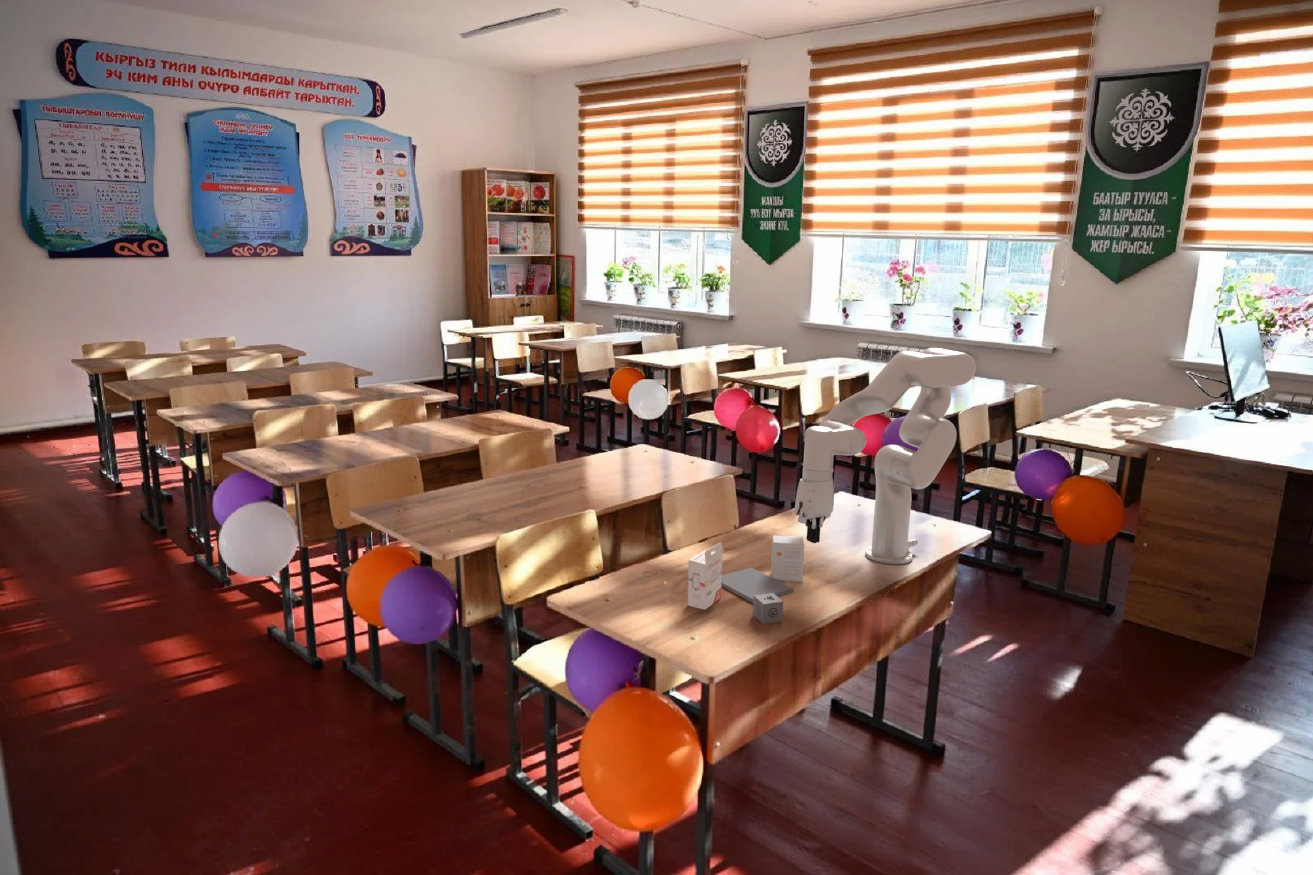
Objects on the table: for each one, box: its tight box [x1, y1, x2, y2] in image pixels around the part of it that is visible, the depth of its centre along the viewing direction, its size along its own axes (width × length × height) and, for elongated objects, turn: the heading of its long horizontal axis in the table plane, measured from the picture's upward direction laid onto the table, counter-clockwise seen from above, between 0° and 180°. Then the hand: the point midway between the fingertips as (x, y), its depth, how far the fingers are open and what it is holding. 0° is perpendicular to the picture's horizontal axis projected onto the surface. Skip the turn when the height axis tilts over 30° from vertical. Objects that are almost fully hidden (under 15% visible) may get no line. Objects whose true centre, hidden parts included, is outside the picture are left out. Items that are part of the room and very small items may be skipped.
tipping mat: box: [721, 567, 794, 604], centre depth 218 cm, size 13×16×1 cm
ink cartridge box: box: [687, 541, 723, 611], centre depth 207 cm, size 9×5×15 cm, turn 148°
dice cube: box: [752, 593, 784, 625], centre depth 200 cm, size 5×5×5 cm
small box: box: [770, 535, 805, 583], centre depth 223 cm, size 8×6×10 cm
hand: (812, 541), depth 227 cm, fingers closed
